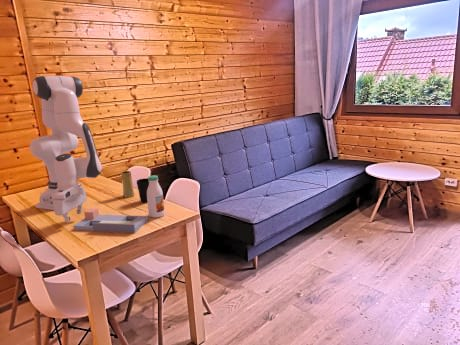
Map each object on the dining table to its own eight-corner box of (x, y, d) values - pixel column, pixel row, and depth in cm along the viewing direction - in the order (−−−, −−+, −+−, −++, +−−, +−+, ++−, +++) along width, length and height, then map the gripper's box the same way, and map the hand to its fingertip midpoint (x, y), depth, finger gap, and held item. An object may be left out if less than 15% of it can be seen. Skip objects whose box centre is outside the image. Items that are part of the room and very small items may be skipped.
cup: (149, 203, 193) (147, 182, 190) (136, 203, 195) (133, 182, 191) (155, 199, 200) (153, 178, 197) (142, 198, 202) (140, 178, 199)
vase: (124, 194, 210) (121, 171, 207) (135, 193, 211) (132, 170, 207) (122, 197, 205) (119, 173, 201) (133, 197, 205) (130, 173, 201)
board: (73, 230, 163) (71, 222, 162) (91, 217, 177) (89, 210, 176) (134, 233, 157) (133, 224, 156) (148, 219, 171) (147, 212, 170)
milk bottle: (151, 219, 172) (147, 179, 167) (147, 214, 179) (142, 175, 173) (166, 216, 175) (163, 176, 170) (162, 211, 182) (158, 173, 177)
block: (85, 218, 171) (84, 211, 170) (90, 215, 175) (89, 208, 174) (93, 219, 170) (92, 212, 169) (98, 215, 174) (97, 208, 173)
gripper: (76, 182, 177) (80, 208, 180) (48, 196, 157) (54, 225, 161) (87, 182, 175) (91, 209, 179) (61, 196, 156) (66, 226, 160)
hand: (73, 217), depth 170 cm, fingers open, 8 cm apart
